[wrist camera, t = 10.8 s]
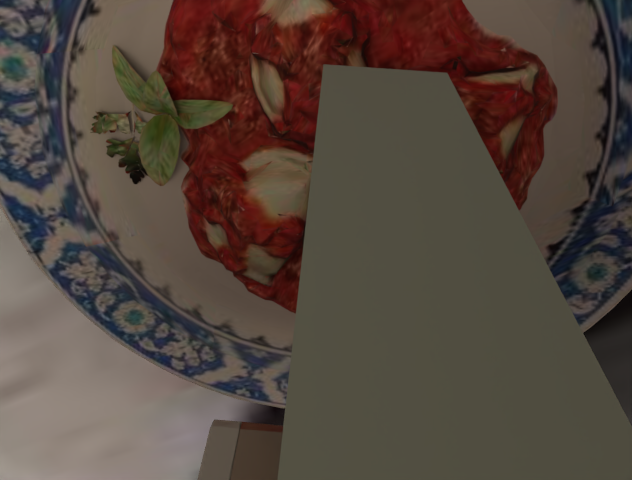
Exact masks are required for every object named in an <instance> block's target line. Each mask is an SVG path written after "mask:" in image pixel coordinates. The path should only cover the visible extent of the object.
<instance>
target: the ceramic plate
mask: <svg viewBox="0 0 632 480" xmlns="http://www.w3.org/2000/svg"><path fill="white" fill-rule="evenodd" d="M323 64H326V65H340V66H355V67H369V68H384V69H398V70H413V71H428V72H442V73H447V74H448V75H449V77H450V79H451V81H452V83H453V85H454V87H455V89H456V91H457V93H458V95H459V97H460V98H461V100H462V102H463V104H464V106H465V108H466V110H467V112H468V114H469V116H470V118H471V120H472V121H473V123H474V125H475V127H476V129H477V131H478V133H479V135H480V137H481V139H482V141H483V143H484V144H485V146H486V148H487V150H488V152H489V154H490V156H491V158H492V160H493V162H494V164H495V166H496V167H497V169H498V171H499V173H500V175H501V177H502V179H503V181H504V183H505V185H506V187H507V189H508V190H509V192H510V194H511V196H512V198H513V200H514V202H515V204H516V206H517V208H518V210H519V212H520V213H521V215H522V217H523V219H524V221H525V223H526V225H527V227H528V229H529V231H530V233H531V235H532V236H533V238H534V240H535V242H536V244H537V246H538V248H539V250H540V252H541V254H542V256H543V258H544V259H545V261H546V263H547V265H548V267H549V269H550V271H551V273H552V275H553V277H554V279H555V281H556V282H557V284H558V286H559V288H560V290H561V292H562V294H563V296H564V298H565V300H566V302H567V304H568V305H569V307H570V309H571V311H572V313H573V315H574V317H575V319H576V321H577V323H578V325H579V327H580V328H581V330H582V332H583V333H584V332H585V331H586V330H588V329H589V328H590V327H592V326H593V325H594V324H595V323H596V322H597V321H599V320H600V319H601V318H602V317H603V316H604V315H606V314H607V313H608V312H609V311H610V310H611V309H613V308H614V307H615V306H616V305H617V304H618V303H619V302H620V301H621V300H622V299H623V298H624V297H625V296H626V295H627V294H628V293H629V292H630V291H631V290H632V0H0V207H1V208H2V210H3V212H4V214H5V216H6V218H7V220H8V222H9V223H10V225H11V227H12V229H13V230H14V232H15V233H16V235H17V236H18V238H19V240H20V241H21V243H22V244H23V246H24V247H25V249H26V251H27V252H28V254H29V255H30V257H31V259H32V260H33V261H34V262H35V263H36V264H37V266H38V267H39V268H40V269H41V270H42V272H43V273H44V274H45V275H46V276H47V277H48V279H49V280H50V281H51V282H52V283H53V284H54V285H55V286H56V287H57V288H58V289H59V291H60V292H61V293H62V294H63V295H64V296H65V297H66V298H67V299H68V300H69V301H70V302H71V303H72V304H73V305H74V306H75V307H76V308H77V309H78V310H80V311H81V312H82V313H83V314H84V315H85V316H86V317H87V318H88V319H89V320H91V321H92V322H93V323H94V324H95V325H97V326H98V327H99V328H100V329H101V330H103V331H104V332H105V333H106V334H107V335H109V336H110V337H111V338H112V339H114V340H115V341H117V342H118V343H120V344H121V345H123V346H124V347H126V348H128V349H129V350H131V351H132V352H134V353H136V354H138V355H139V356H141V357H143V358H144V359H146V360H148V361H149V362H151V363H153V364H155V365H156V366H158V367H160V368H162V369H164V370H166V371H168V372H170V373H172V374H174V375H176V376H178V377H180V378H183V379H185V380H188V381H190V382H192V383H195V384H197V385H200V386H202V387H205V388H207V389H210V390H213V391H216V392H219V393H221V394H224V395H227V396H230V397H233V398H236V399H240V400H245V401H249V402H254V403H259V404H264V405H269V406H275V407H280V408H285V407H286V398H287V389H288V380H289V371H290V362H291V353H292V344H293V335H294V326H295V317H296V308H297V299H298V290H299V281H300V272H301V263H302V254H303V245H304V236H305V227H306V218H307V209H308V200H309V191H310V182H311V173H312V164H313V154H314V145H315V136H316V127H317V118H318V109H319V100H320V91H321V82H322V73H323Z"/></svg>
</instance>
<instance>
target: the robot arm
mask: <svg viewBox="0 0 632 480" xmlns="http://www.w3.org/2000/svg"><path fill="white" fill-rule="evenodd" d="M282 435H283V426H278V425H268V424H258V423H248V422H238V421H225V420H214V421H213V423H212V425H211V427H210V431H209V435H208V439H207V443H206V447H205V451H204V455H203V459H202V463H201V468H200V472H199V476H198V480H278V471H279V462H280V453H281V444H282Z"/></svg>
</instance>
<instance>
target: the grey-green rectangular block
mask: <svg viewBox="0 0 632 480" xmlns="http://www.w3.org/2000/svg"><path fill="white" fill-rule="evenodd" d="M278 480H632V426H631V424H630V422H629V420H628V419H627V417H626V415H625V413H624V411H623V409H622V407H621V405H620V403H619V401H618V399H617V397H616V396H615V394H614V392H613V390H612V388H611V386H610V384H609V382H608V380H607V378H606V376H605V374H604V373H603V371H602V369H601V367H600V365H599V363H598V361H597V359H596V357H595V355H594V353H593V351H592V350H591V348H590V346H589V344H588V342H587V340H586V338H585V336H584V334H583V332H582V330H581V328H580V327H579V325H578V323H577V321H576V319H575V317H574V315H573V313H572V311H571V309H570V307H569V305H568V304H567V302H566V300H565V298H564V296H563V294H562V292H561V290H560V288H559V286H558V284H557V282H556V281H555V279H554V277H553V275H552V273H551V271H550V269H549V267H548V265H547V263H546V261H545V259H544V258H543V256H542V254H541V252H540V250H539V248H538V246H537V244H536V242H535V240H534V238H533V236H532V235H531V233H530V231H529V229H528V227H527V225H526V223H525V221H524V219H523V217H522V215H521V213H520V212H519V210H518V208H517V206H516V204H515V202H514V200H513V198H512V196H511V194H510V192H509V190H508V189H507V187H506V185H505V183H504V181H503V179H502V177H501V175H500V173H499V171H498V169H497V167H496V166H495V164H494V162H493V160H492V158H491V156H490V154H489V152H488V150H487V148H486V146H485V144H484V143H483V141H482V139H481V137H480V135H479V133H478V131H477V129H476V127H475V125H474V123H473V121H472V120H471V118H470V116H469V114H468V112H467V110H466V108H465V106H464V104H463V102H462V100H461V98H460V97H459V95H458V93H457V91H456V89H455V87H454V85H453V83H452V81H451V79H450V77H449V75H448V74H447V73H442V72H428V71H413V70H398V69H384V68H369V67H355V66H340V65H326V64H323V73H322V82H321V91H320V100H319V109H318V118H317V127H316V136H315V145H314V154H313V164H312V173H311V182H310V191H309V200H308V209H307V218H306V227H305V236H304V245H303V254H302V263H301V272H300V281H299V290H298V299H297V308H296V317H295V326H294V335H293V344H292V353H291V362H290V371H289V380H288V389H287V398H286V407H285V417H284V426H283V435H282V444H281V453H280V462H279V471H278Z"/></svg>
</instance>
